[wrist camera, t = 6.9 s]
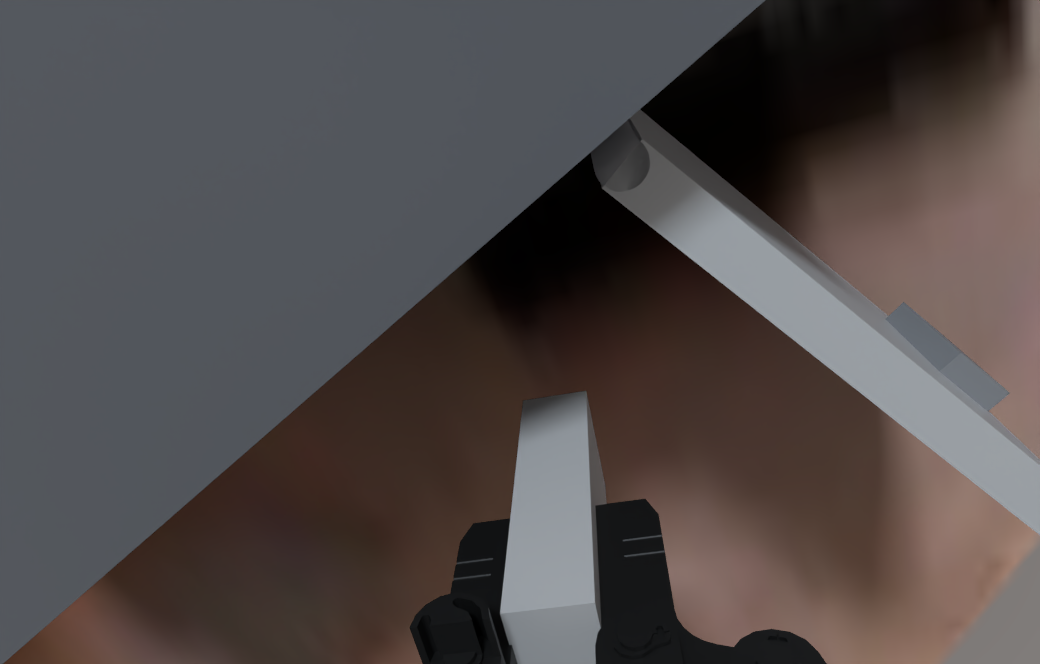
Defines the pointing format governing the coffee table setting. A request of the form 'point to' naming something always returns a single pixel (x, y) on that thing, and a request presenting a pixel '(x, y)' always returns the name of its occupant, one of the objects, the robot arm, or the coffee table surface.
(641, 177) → the side door
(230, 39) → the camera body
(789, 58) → the coffee table surface
